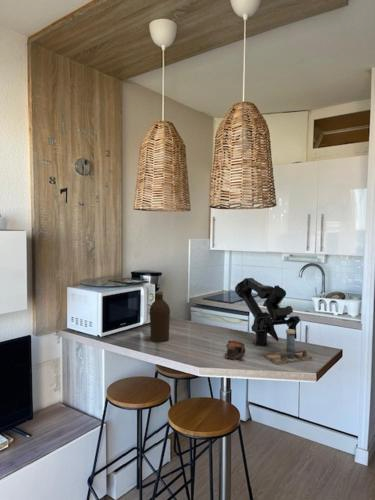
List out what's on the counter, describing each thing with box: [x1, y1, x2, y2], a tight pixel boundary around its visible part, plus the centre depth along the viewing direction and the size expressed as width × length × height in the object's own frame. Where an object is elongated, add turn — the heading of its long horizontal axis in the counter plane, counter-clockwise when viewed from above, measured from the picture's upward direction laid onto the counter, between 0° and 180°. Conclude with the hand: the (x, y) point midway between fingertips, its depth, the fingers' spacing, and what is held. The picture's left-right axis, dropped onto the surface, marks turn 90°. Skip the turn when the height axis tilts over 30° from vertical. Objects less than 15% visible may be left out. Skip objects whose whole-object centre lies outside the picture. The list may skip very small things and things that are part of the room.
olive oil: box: [148, 291, 171, 343], centre depth 191 cm, size 11×11×25 cm
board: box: [263, 349, 313, 365], centre depth 162 cm, size 10×18×4 cm, turn 109°
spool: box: [285, 328, 296, 362], centre depth 160 cm, size 4×4×13 cm
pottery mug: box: [224, 340, 246, 361], centre depth 164 cm, size 12×10×8 cm
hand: (287, 339), depth 162 cm, fingers open, 9 cm apart
